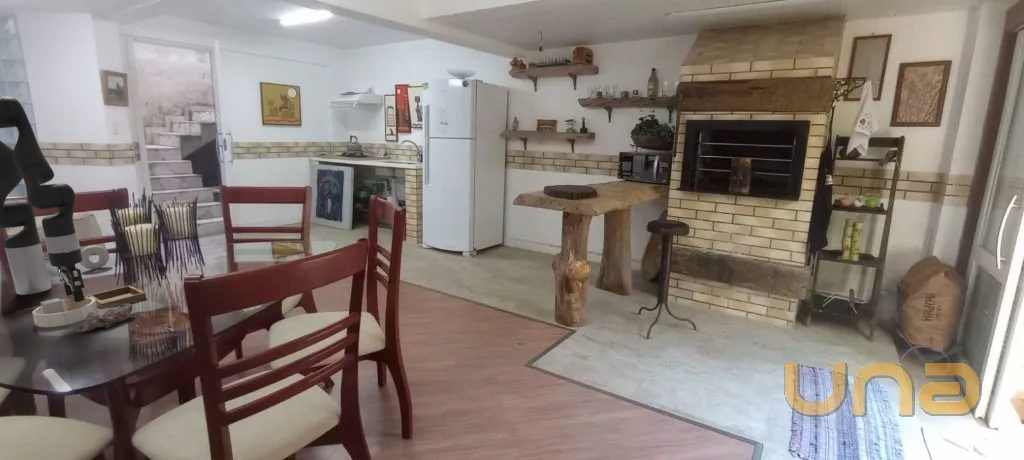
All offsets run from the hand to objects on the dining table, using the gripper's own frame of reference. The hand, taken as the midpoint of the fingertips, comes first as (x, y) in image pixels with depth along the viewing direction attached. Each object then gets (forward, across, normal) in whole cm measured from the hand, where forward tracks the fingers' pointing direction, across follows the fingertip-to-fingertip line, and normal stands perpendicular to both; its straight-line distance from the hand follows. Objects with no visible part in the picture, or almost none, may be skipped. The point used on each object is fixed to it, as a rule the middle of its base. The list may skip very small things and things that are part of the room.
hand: (75, 298), depth 156 cm
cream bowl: (+6, +1, -3) cm, 6 cm away
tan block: (+5, +1, 0) cm, 5 cm away
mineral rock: (+6, +17, +2) cm, 18 cm away
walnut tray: (+6, -4, +12) cm, 13 cm away
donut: (+6, -57, +20) cm, 61 cm away
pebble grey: (+5, +1, -6) cm, 8 cm away
